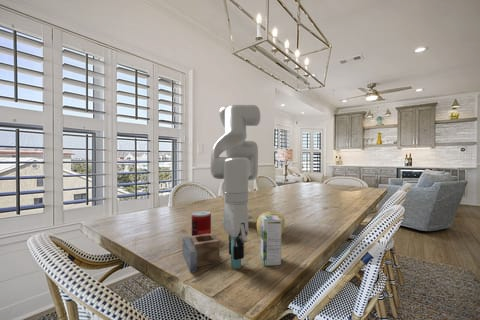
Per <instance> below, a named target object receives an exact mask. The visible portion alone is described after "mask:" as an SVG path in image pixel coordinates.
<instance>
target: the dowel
mask: <svg viewBox="0 0 480 320" xmlns="http://www.w3.org/2000/svg"><path fill="white" fill-rule="evenodd" d="M239 235H240V234H239ZM239 239H241V238H237V241H238V240H239ZM230 242H231V255H230V267H231V268H232V269H235V270H236V269H240V268H242V259H238V260H234V258H233V246H235V243H234V238H232V237H231V241H230Z"/></svg>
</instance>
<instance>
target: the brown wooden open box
mask: <svg viewBox="0 0 480 320" xmlns="http://www.w3.org/2000/svg"><path fill="white" fill-rule="evenodd" d="M189 238H190V240H191V242H192V244H193V245H194V247H195V249H196V250H197V267H202V266H207V265H212V264H218V263H220V262H221V261H220V250H221V249H220V241H221V240H219V239H218V238H217V236H216V235H215V234H214V233H213V232H211V234H203V235H196V236H192V235H190V236H189Z"/></svg>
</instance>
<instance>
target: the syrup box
mask: <svg viewBox="0 0 480 320" xmlns="http://www.w3.org/2000/svg"><path fill="white" fill-rule="evenodd" d="M260 259H261V262H262V265H263V266H265V267H267V266H281V265H282V234H281V220H280V218H279V217H278V216H274V215H264V216H261V236H260Z"/></svg>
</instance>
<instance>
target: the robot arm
mask: <svg viewBox="0 0 480 320" xmlns="http://www.w3.org/2000/svg"><path fill="white" fill-rule="evenodd" d="M219 117H220V121H221V123H222V125H223V128H224V131H223V132H224V133H223V135H222V136H220V137H219V138H218V140H217V141H216V142H215V143H214V145H213V147H212V149H211V152H210V153H211V155H210V175H211V176H212V177H213V178H214V179H218V180H223V185H224V186H223V196H224V197H223V203H224V207H223V208H224V209H223V220H222V223H221V224H222V225H223V230H224V232H225V233H227V234H228V255H230V256H231V237H232V238H234V243H235V246H233V258H234V260H238V259H241V260H243V259H244V256H245V243H246V242H248V240H247V236H248V235H249V220H250V219H253V214H249V213H248V203H249V181H256V179H257V177H258V172H259V171H258V169H259V168H258V167H259V150H258V149H259V148H258V147H259V146H258V144H257V142H256V141H253V140H246V139H247V127H253V126H254V127H257V126H258V125H260V123H261V110H260V108H259V107H258V105H255V104H232V105H226V106H222V107H221V108H220V109H219ZM224 152H225V154H226V156H221V154H223V153H224ZM239 234H240V235H239ZM237 238H241V239H239V240H238V241H237Z"/></svg>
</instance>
